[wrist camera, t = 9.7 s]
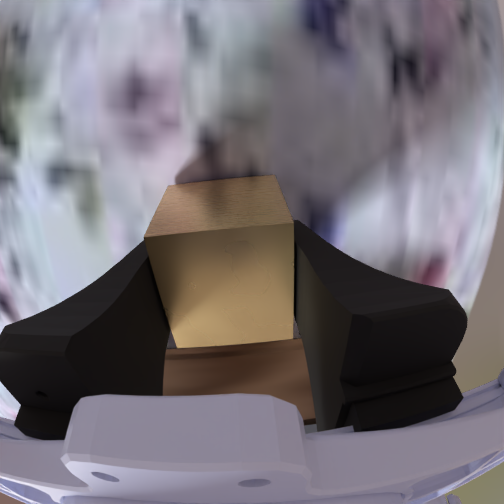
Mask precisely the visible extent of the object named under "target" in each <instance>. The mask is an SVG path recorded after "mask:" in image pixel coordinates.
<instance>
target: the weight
mask: <svg viewBox="0 0 504 504" xmlns="http://www.w3.org/2000/svg"><path fill="white" fill-rule="evenodd" d="M144 240H145V244H146V248H147V252H148V255H149V259H150V263H151V266H152V270H153V273H154V277H155V280H156V284H157V287H158V290H159V294H160V297H161V300H162V303H163V306H164V310H165V313H166V316H167V319H168V322H169V325H170V328H171V331H172V334H173V337H174V340H175V343H176V346H177V348H190V347H207V346H222V345H235V344H247V343H258V342H268V341H278V340H287V339H293V314H294V222H293V219H292V217H291V214H290V212H289V209H288V207H287V204H286V202H285V199H284V197H283V194H282V192H281V189H280V187H279V184H278V182H277V179H276V177H275V175H265V176H253V177H242V178H231V179H221V180H211V181H202V182H194V183H185V184H177V185H169V186H168V187H167V189H166V191H165V193H164V195H163V197H162V200H161V202H160V204H159V206H158V208H157V210H156V212H155V214H154V216H153V218H152V220H151V222H150V224H149V227H148V229H147V231H146V233H145V235H144Z"/></svg>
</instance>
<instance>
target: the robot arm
mask: <svg viewBox="0 0 504 504" xmlns="http://www.w3.org/2000/svg"><path fill="white" fill-rule="evenodd" d="M293 222H294V317H295V320H296V323H297V326H298V329H299V332H300V335H301V339H302V343H303V347H304V351H305V357H306V362H307V367H308V373H309V379H310V385H311V391H312V397H313V404H314V410H315V417H316V425H317V432H315V433H308V434H305V429H304V423H303V418H302V416H301V414H300V412H299V411H298V409H297V407H296V405H294V404H291V403H289V402H286V401H284V400H281V399H278V398H276V397H273V396H271V395H264V394H243V393H235V394H219V395H196V396H163V378H164V363H165V354H166V348H167V343H168V338H169V334H170V329H171V328H170V325H169V322H168V319H167V316H166V313H165V310H164V306H163V303H162V300H161V297H160V294H159V290H158V287H157V284H156V280H155V277H154V273H153V270H152V266H151V263H150V259H149V255H148V252H147V248H146V244H145V240H143V241H142V242H141V243H140V244H139V245H138V246H137V247H135V248H134V249H133V250H132V251H131V252H130V253H129V254H128V255H126V256H125V257H124V258H123V259H122V260H121V261H120V262H118V263H117V264H116V265H115V266H113V267H112V268H111V269H110V270H109V271H107V272H106V273H105V274H104V275H102V276H101V277H100V278H98V279H97V280H96V281H94V282H93V283H91V284H90V285H89V286H87V287H86V288H84V289H83V290H81V291H79V292H78V293H76V294H74V295H73V296H71V297H69V298H67V299H66V300H64V301H62V302H61V303H59V304H57V305H55V306H53V307H51V308H49V309H47V310H45V311H42V312H40V313H38V314H36V315H33V316H31V317H28V318H26V319H23V320H20V321H18V322H15V323H12V324H9V325H6V326H5V327H4V329H3V331H2V333H1V334H0V381H1V383H2V384H3V385H4V386H5V387H6V389H7V390H8V391H9V392H10V393H11V394H12V395H13V397H14V398H15V399H16V400H17V401H18V402H19V403H20V404H21V406H20V409H19V412H18V415H17V417H16V420H15V421H13V420H10V419H6V418H3V417H0V492H2V493H4V494H7V495H8V496H11V497H13V498H15V499H17V500H19V501H22V502H24V503H27V504H447V501H446V498H445V495H444V494H445V493H447V492H450V491H451V490H454V489H456V488H458V487H460V486H461V485H463V484H465V483H467V482H469V481H471V480H473V479H475V478H476V477H478V476H480V475H482V474H483V473H485V472H487V471H489V470H490V469H492V468H494V467H495V466H497V465H499V464H500V463H502V462H504V368H503V370H502V371H501V373H500V374H499V376H498V379H495V380H493V381H491V382H488V383H486V384H484V385H481V386H479V387H477V388H474V389H472V390H469V391H467V392H464V393H461V392H460V389H459V387H458V385H457V384H456V382H455V380H454V378H453V376H454V375H455V374H456V368H455V367H454V365H453V363H452V359H453V357H454V355H455V353H456V351H457V349H458V347H459V345H460V343H461V341H462V339H463V337H464V334H465V331H466V328H467V316H466V313H465V311H464V309H463V308H462V307H461V305H460V304H459V303H458V301H457V300H456V299H455V297H454V296H453V295H452V293H451V292H450V291H449V290H448V289H443V288H438V287H433V286H428V285H423V284H419V283H415V282H411V281H408V280H404V279H401V278H398V277H395V276H392V275H389V274H387V273H384V272H382V271H379V270H377V269H374V268H372V267H370V266H368V265H365V264H364V263H362V262H360V261H358V260H356V259H354V258H352V257H350V256H348V255H347V254H345V253H343V252H342V251H340V250H339V249H337V248H335V247H334V246H332V245H331V244H329V243H328V242H327V241H325V240H324V239H322V238H321V237H320V236H318V235H317V234H316V233H314V232H313V231H312V230H311V229H309V228H308V227H307V226H305V225H304V224H303V223H302V222H300V221H299V220H293ZM447 499H448V503H449V504H461V501H460V499H459V497H458V496H456V495H453V494H450V495H448V496H447Z"/></svg>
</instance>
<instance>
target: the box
mask: <svg viewBox="0 0 504 504" xmlns="http://www.w3.org/2000/svg"><path fill="white" fill-rule="evenodd" d="M235 393H243V394H264V395H271V396H273V397H276V398H278V399H281V400H284V401H286V402H289V403H291V404H294V405H296V407H297V409H298V411H299V412H300V414H301V416H302V418H303V423H304V426H305V425H312V424H316V417H315V410H314V404H313V397H312V391H311V385H310V379H309V373H308V367H307V362H306V357H305V351H304V347H303V343H302V339H301V338H300V339H291V340H283V341H274V342H264V343H254V344H243V345H231V346H217V347H202V348H184V349H166V354H165V363H164V378H163V396H196V395H219V394H235Z"/></svg>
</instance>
